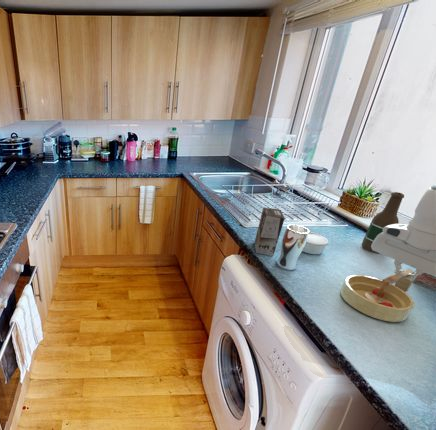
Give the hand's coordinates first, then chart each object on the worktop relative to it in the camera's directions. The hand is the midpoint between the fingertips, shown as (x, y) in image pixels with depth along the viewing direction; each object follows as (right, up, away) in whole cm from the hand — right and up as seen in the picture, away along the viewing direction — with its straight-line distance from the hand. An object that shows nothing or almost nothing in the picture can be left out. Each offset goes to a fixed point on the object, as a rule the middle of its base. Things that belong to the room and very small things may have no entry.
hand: (403, 276), depth 88 cm
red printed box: (+14, -4, +6) cm, 16 cm away
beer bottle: (+15, +5, +28) cm, 32 cm away
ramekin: (-12, +5, +27) cm, 30 cm away
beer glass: (-27, +1, +16) cm, 31 cm away
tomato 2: (-11, -7, -6) cm, 14 cm away
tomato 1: (-9, -5, -1) cm, 10 cm away
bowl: (-12, -8, -2) cm, 15 cm away
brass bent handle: (-6, -6, 0) cm, 8 cm away
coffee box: (-30, +5, +26) cm, 40 cm away
